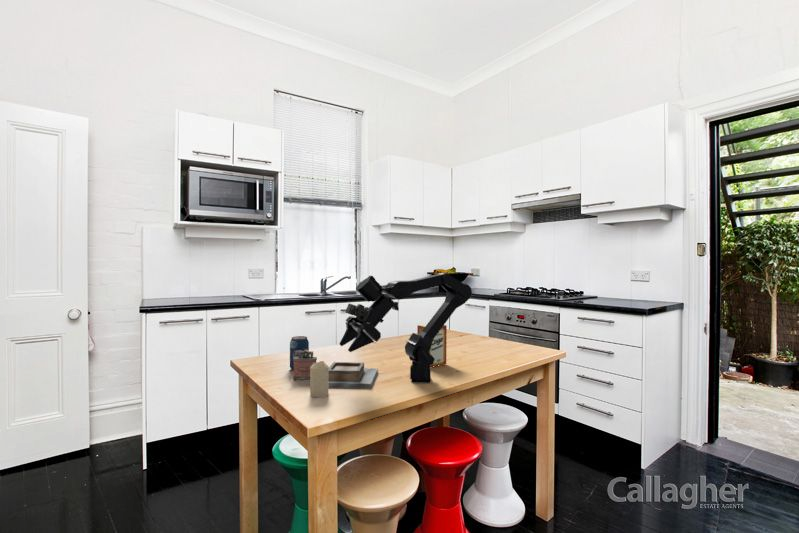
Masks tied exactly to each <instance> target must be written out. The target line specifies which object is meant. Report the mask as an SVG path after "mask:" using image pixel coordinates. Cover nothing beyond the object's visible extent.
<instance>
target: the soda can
mask: <svg viewBox="0 0 799 533" xmlns="http://www.w3.org/2000/svg"><path fill="white" fill-rule="evenodd" d="M309 343H310V341H309V340H308V336H304V335H303V336H301V335H300V336H299V335H295V336H292V337H291V340H290V342H289V368H290V370H291V371H292V370H293V371H292V372H294V360H293V358H294V357H299V355H295V352H296V351H305V350H308V351H310V350H309V349H310V344H309ZM302 356H303V355H301V357H302Z"/></svg>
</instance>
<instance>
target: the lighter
mask: <svg viewBox="0 0 799 533" xmlns="http://www.w3.org/2000/svg"><path fill="white" fill-rule="evenodd" d="M295 355H299V357H294V358H293V360H294V371H293V377H292V380H293V381H297V380H310V367H311V366H312V365H313V364H314V363H317V360H318V358H317V357H316V356H314V351H312V350H309V351H308V350H305V351H296V352H295ZM301 355H303V356H302V357H301Z"/></svg>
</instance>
